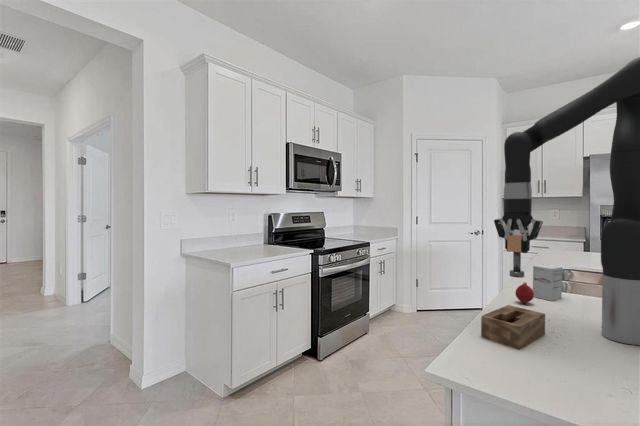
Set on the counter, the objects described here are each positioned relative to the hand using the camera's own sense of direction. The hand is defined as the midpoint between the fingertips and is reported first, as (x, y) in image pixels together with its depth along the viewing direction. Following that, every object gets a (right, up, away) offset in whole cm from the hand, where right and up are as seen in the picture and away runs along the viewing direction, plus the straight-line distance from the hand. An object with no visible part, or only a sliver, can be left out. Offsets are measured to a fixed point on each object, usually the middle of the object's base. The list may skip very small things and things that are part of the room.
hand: (516, 251), depth 103 cm
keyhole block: (-7, -23, -10) cm, 26 cm away
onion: (+14, -22, +18) cm, 32 cm away
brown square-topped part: (0, -8, 0) cm, 8 cm away
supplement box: (+27, -21, +26) cm, 43 cm away
